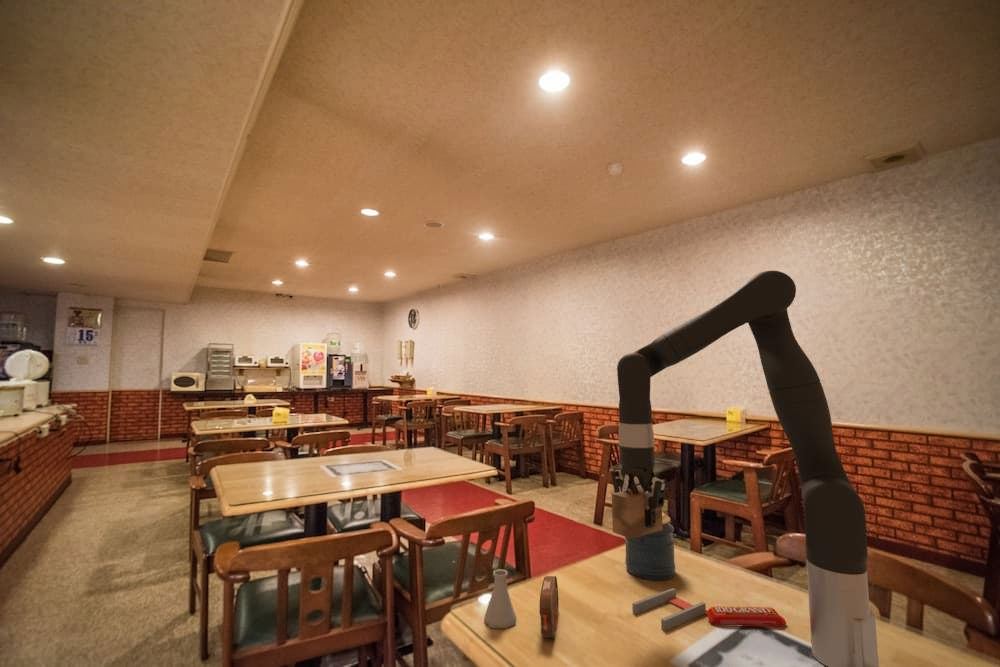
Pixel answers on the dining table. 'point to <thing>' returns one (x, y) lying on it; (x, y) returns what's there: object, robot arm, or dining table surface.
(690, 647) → the dining table surface
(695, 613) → the channel
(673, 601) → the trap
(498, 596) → the flask
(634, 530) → the block
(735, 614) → the candy bar
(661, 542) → the canister
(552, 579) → the tin
